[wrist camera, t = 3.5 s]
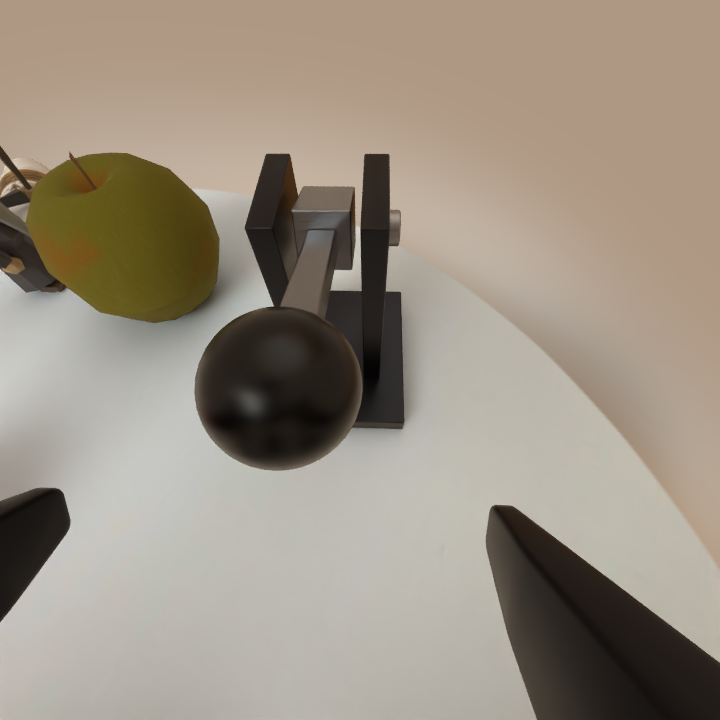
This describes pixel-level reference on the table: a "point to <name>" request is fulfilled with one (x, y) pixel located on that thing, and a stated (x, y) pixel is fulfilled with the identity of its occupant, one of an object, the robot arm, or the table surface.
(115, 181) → the apple
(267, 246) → the bracket
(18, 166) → the pill bottle
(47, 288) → the wizard figurine
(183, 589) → the table surface
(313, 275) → the lever
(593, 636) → the robot arm
